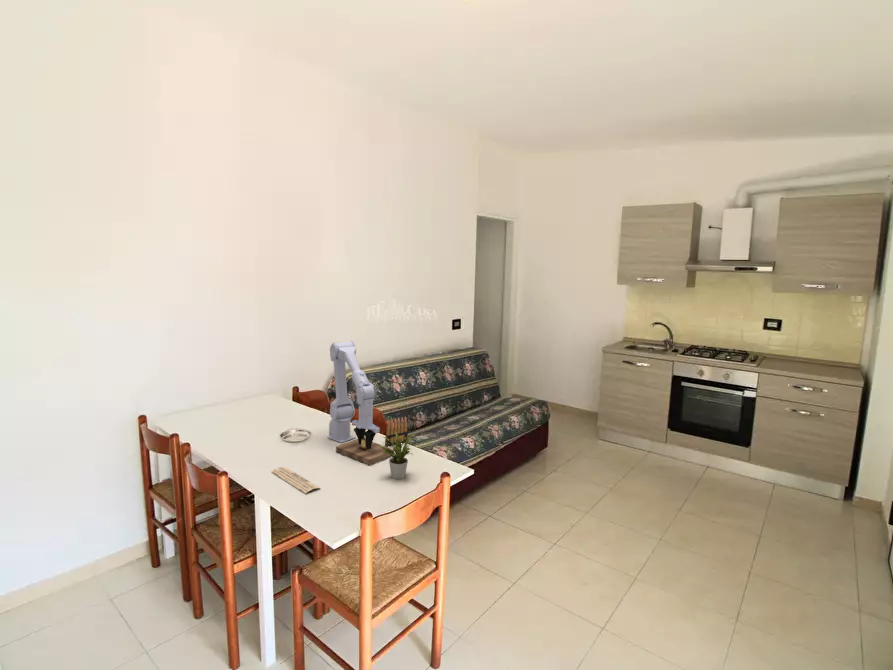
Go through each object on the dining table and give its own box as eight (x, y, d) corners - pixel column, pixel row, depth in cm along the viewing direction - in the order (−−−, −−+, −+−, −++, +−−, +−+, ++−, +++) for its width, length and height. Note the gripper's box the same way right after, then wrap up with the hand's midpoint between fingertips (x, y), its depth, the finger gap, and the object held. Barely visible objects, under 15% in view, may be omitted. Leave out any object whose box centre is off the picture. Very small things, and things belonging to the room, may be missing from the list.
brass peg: (359, 452, 204) (359, 438, 203) (365, 450, 206) (365, 437, 205) (364, 454, 202) (364, 440, 201) (369, 452, 204) (370, 439, 203)
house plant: (399, 463, 196) (400, 424, 193) (425, 474, 187) (426, 433, 185) (372, 474, 185) (373, 433, 182) (398, 486, 176) (400, 443, 174)
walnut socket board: (336, 452, 204) (336, 446, 204) (360, 443, 215) (360, 437, 215) (369, 465, 193) (369, 459, 192) (394, 455, 204) (394, 449, 203)
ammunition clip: (405, 441, 220) (406, 415, 218) (407, 442, 219) (408, 416, 217) (384, 445, 214) (385, 419, 212) (386, 447, 212) (387, 420, 211)
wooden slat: (271, 474, 183) (271, 470, 183) (288, 469, 188) (288, 464, 188) (305, 496, 167) (305, 491, 167) (323, 490, 173) (323, 485, 172)
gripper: (346, 412, 203) (346, 443, 205) (371, 420, 194) (370, 452, 196) (359, 408, 208) (358, 439, 210) (383, 416, 200) (382, 448, 202)
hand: (365, 445), depth 203 cm, fingers open, 4 cm apart
